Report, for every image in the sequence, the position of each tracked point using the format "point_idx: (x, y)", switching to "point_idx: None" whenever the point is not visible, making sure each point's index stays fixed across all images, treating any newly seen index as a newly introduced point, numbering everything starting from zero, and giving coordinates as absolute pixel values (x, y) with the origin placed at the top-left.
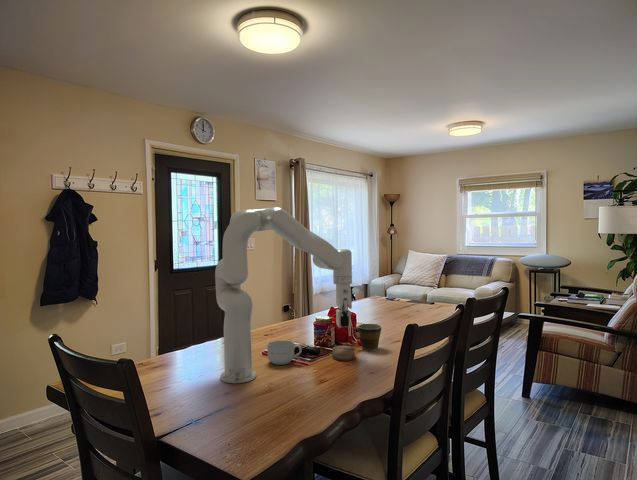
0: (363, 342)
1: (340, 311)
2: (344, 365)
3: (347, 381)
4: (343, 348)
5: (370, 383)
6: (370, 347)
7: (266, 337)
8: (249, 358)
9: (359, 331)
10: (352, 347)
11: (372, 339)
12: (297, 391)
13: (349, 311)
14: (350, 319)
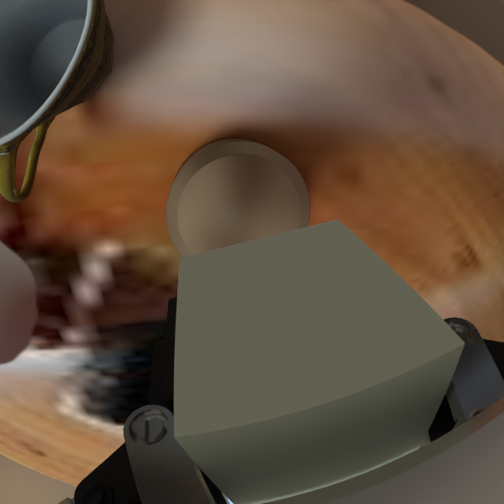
0: (85, 90)
1: (381, 461)
2: (357, 191)
3: (485, 186)
4: (241, 216)
5: (501, 118)
6: (109, 46)
7: (57, 454)
8: (423, 442)
9: (42, 123)
10: (204, 157)
11: (105, 19)
12: (491, 302)
13: (441, 366)
14: (383, 264)
